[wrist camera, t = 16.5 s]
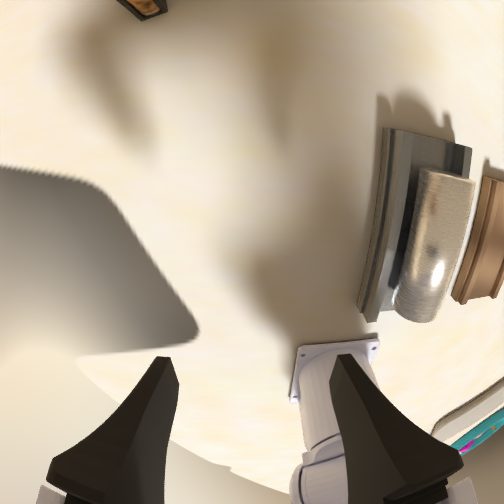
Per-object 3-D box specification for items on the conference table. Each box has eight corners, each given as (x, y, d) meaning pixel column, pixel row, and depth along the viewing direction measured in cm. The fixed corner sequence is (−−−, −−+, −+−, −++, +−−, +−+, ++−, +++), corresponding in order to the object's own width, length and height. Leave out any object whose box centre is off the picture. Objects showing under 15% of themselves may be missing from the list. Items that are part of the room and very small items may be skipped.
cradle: (420, 299, 21) (431, 314, 19) (356, 305, 21) (364, 322, 19) (455, 143, 15) (473, 148, 13) (383, 127, 15) (399, 130, 13)
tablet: (434, 420, 37) (438, 428, 35) (521, 361, 33) (526, 368, 31) (424, 442, 44) (426, 449, 42) (502, 395, 40) (505, 400, 38)
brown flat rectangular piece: (489, 289, 21) (497, 297, 20) (450, 295, 21) (458, 305, 20) (519, 186, 16) (530, 191, 15) (483, 175, 16) (495, 180, 14)
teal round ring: (483, 416, 45) (489, 430, 39) (518, 399, 48) (523, 410, 43) (424, 462, 58) (428, 475, 53) (469, 444, 61) (473, 454, 56)
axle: (418, 287, 20) (446, 315, 16) (382, 295, 19) (410, 328, 16) (445, 169, 15) (485, 185, 12) (408, 164, 15) (451, 180, 11)
